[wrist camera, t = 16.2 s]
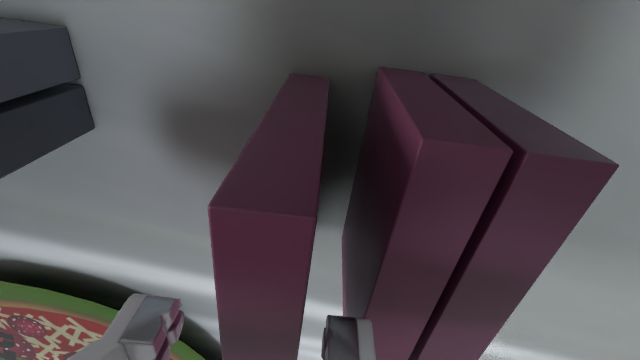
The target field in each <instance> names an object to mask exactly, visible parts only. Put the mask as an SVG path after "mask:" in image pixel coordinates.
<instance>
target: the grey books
mask: <svg viewBox="0 0 640 360" xmlns="http://www.w3.org/2000/svg"><path fill="white" fill-rule="evenodd" d="M79 78H80V75H79V71H78V68H77V64H76V61H75V57H74V54H73V50H72V47H71V43H70V39H69V36H68V32H67V29H66V27H63V26H55V25H48V24H41V23H34V22H27V21H20V20H13V19H5V18H0V179H1V178H3V177H4V176H6V175H8V174H10V173H12V172H14V171H16V170H18V169H19V168H21V167H23V166H25V165H27V164H29V163H31V162H33V161H34V160H36V159H38V158H40V157H42V156H44V155H46V154H48V153H49V152H51V151H53V150H55V149H57V148H59V147H61V146H63V145H64V144H66V143H68V142H70V141H72V140H74V139H76V138H77V137H79V136H81V135H83V134H85V133H87V132H89V131H91V130H92V129H94V125H93V122H92V118H91V115H90V111H89V108H88V104H87V101H86V97H85V93H84V90H83V87H82V86H76V85H68V84H62V83H66V82H69V81H72V80H75V79H79Z"/></svg>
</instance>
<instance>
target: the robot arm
mask: <svg viewBox="0 0 640 360" xmlns="http://www.w3.org/2000/svg"><path fill="white" fill-rule="evenodd" d="M180 307H181V301H180V299H178V298H169V297H161V296H152V295H146V294H136V293H133V294H132V295H131V296H130V297H129V298H128V299H127V300H126V302H125V303H124V305H123V306H122V308H121V309H120V311H119V312H118V314H117V315H116V317H115V318H114V320H113V321H112V323H111V324H110V326H109V327H108V329H107V330H106V332H105V333H104V335H103V336H102V338H101V339H100V341H98V340H95V341H93V342H92V343H90V344H89V345H87V346H86V347H84V348H83V349H81V350H80V351H78V352H77V353H75V354H74V355H72V356H71V357H70V358H68V359H67V360H169V359H170V356H171V351H170V347H171V346H172V345H173V344H174V343H175V342H177V341H178V338H179V336H180V334H181V331H182V327H183V323H184V315H183V312H182V311H181V310H179V309H180ZM321 357H322V358H323V360H376V354H375V346H374V337H373V329H372V323H371V321H370V319H361V318H354V317H344V316H333V315H328V316H327V319H326V327H325V328H324V333H323V339H322V354H321Z"/></svg>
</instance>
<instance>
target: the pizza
mask: <svg viewBox="0 0 640 360" xmlns="http://www.w3.org/2000/svg"><path fill="white" fill-rule="evenodd" d="M118 312H119V311H118V310H115V309H112V308H109V307H107V306H104V305H101V304H98V303H95V302H92V301H88V300H85V299H81V298H77V297H73V296H70V295H66V294H62V293H58V292H55V291H51V290H47V289H42V288H36V287H31V286H25V285H20V284H14V283H9V282H3V281H0V360H67V359H68V358H70V357H71V356H72V355H74V354H75V353H77V352H78V351H80V350H81V349H83V348H84V347H86V346H87V345H89V344H90V343H92V342H93V341H95V340H98V341H100V339H101V338H102V336H103V335H104V333H105V332H106V330H107V329H108V327H109V326H110V324H111V323H112V321H113V320H114V318H115V317H116V315H117V314H118ZM170 351H171V356H170V359H169V360H205V359H204V358H203V357H202V356H201V355H199V354H198V353H197V352H195V351H194V350H193V349H191V348H190V347H189V346H188V345H186V344H185V343H183V342H182V341H180V340H178V341H177V342H175V343H174V344H173V345H172V346H171V347H170Z"/></svg>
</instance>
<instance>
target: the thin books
mask: <svg viewBox="0 0 640 360" xmlns="http://www.w3.org/2000/svg"><path fill="white" fill-rule="evenodd" d="M618 167H619V165H618V164H617V163H615V162H613V161H612V160H610V159H608V158H607V157H605V156H603V155H602V154H600V153H598V152H597V151H595V150H593V149H591V148H590V147H588V146H586V145H585V144H583V143H581V142H580V141H578V140H576V139H575V138H573V137H571V136H570V135H568V134H566V133H564V132H563V131H561V130H559V129H558V128H556V127H554V126H553V125H551V124H549V123H548V122H546V121H544V120H542V119H541V118H539V117H537V116H536V115H534V114H532V113H531V112H529V111H527V110H526V109H524V108H522V107H520V106H519V105H517V104H515V103H514V102H512V101H510V100H509V99H507V98H505V97H504V96H502V95H500V94H499V93H497V92H495V91H493V90H492V89H490V88H488V87H487V86H485V85H483V84H482V83H480V82H478V81H477V80H473V79H466V78H459V77H452V76H445V75H438V74H431V75H430V78H429V77H428V76H427V75H425V74H424V73H423V72H415V71H408V70H401V69H394V68H387V67H379V68H378V72H377V77H376V81H375V86H374V91H373V95H372V100H371V105H370V109H369V114H368V119H367V124H366V128H365V133H364V138H363V142H362V147H361V152H360V156H359V161H358V166H357V170H356V175H355V180H354V184H353V189H352V194H351V198H350V203H349V208H348V212H347V217H346V222H345V226H344V231H343V236H342V277H343V316H344V317H354V318H361V319H370V321H371V323H372V329H373V337H374V346H375V354H376V360H478V359H479V358H480V356H481V355H482V353H483V352H484V351H485V349H486V348H487V347H488V345H489V344H490V342H491V341H492V340H493V338H494V337H495V336H496V334H497V333H498V332H499V330H500V329H501V327H502V326H503V325H504V323H505V322H506V321H507V319H508V318H509V316H510V315H511V314H512V312H513V311H514V310H515V308H516V307H517V305H518V304H519V303H520V301H521V300H522V299H523V297H524V296H525V294H526V293H527V292H528V290H529V289H530V288H531V286H532V285H533V283H534V282H535V281H536V279H537V278H538V277H539V275H540V274H541V273H542V271H543V270H544V268H545V267H546V266H547V264H548V263H549V262H550V260H551V259H552V257H553V256H554V255H555V253H556V252H557V251H558V249H559V248H560V246H561V245H562V244H563V242H564V241H565V240H566V238H567V237H568V235H569V234H570V233H571V231H572V230H573V229H574V227H575V226H576V224H577V223H578V222H579V220H580V219H581V218H582V216H583V215H584V213H585V212H586V211H587V209H588V208H589V207H590V205H591V204H592V203H593V201H594V200H595V198H596V197H597V196H598V194H599V193H600V192H601V190H602V189H603V187H604V186H605V185H606V183H607V182H608V181H609V179H610V178H611V176H612V175H613V174H614V172H615V171H616V170H617V168H618Z"/></svg>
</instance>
